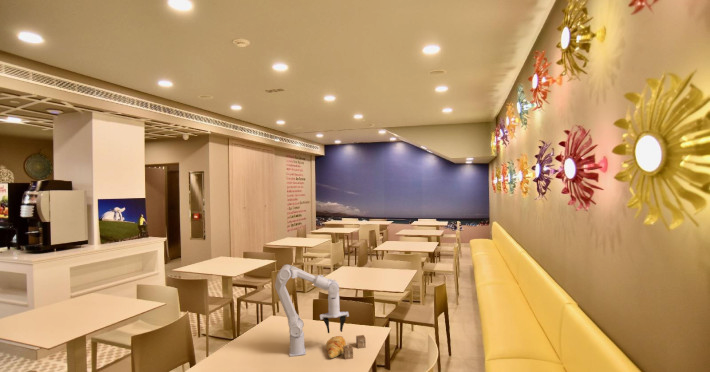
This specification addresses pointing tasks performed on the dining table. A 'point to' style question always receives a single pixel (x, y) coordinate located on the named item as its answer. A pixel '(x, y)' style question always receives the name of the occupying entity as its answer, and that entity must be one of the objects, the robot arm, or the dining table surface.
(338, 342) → the croissant
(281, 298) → the robot arm
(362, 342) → the number block seven
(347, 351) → the number block one
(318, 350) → the dining table surface
